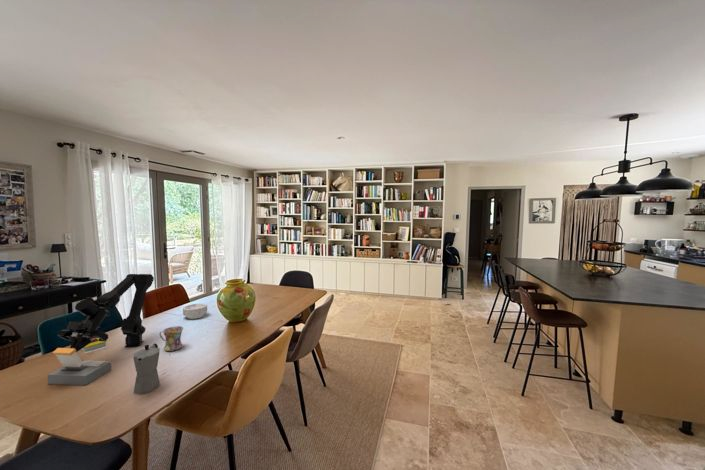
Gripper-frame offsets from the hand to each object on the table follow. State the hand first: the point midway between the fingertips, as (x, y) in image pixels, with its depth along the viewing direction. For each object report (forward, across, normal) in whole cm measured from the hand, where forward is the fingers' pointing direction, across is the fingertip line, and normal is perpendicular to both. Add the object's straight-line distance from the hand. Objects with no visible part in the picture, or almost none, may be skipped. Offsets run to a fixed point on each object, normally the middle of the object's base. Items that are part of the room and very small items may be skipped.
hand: (70, 355), depth 120 cm
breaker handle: (+3, 0, +5) cm, 6 cm away
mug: (-14, +22, +30) cm, 40 cm away
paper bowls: (-49, +7, +65) cm, 81 cm away
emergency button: (-13, -20, +30) cm, 38 cm away
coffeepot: (+10, +36, +6) cm, 37 cm away
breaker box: (+6, +2, +9) cm, 11 cm away
